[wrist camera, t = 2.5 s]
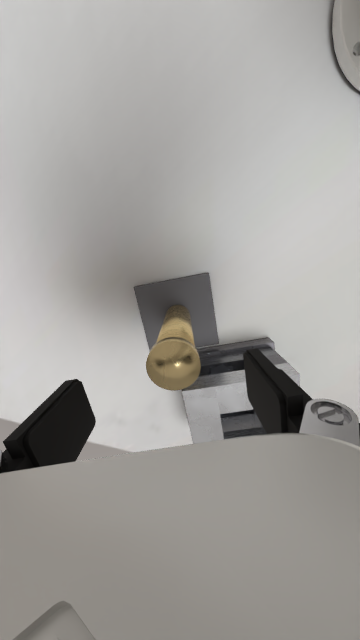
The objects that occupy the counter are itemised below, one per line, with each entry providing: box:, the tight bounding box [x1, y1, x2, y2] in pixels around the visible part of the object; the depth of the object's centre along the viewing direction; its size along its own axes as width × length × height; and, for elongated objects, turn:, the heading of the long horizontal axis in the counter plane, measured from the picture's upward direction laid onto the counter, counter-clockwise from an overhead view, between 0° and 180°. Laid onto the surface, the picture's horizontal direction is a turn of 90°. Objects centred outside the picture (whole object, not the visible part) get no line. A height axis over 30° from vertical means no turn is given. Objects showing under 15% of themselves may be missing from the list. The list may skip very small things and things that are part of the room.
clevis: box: [182, 338, 300, 444], centre depth 23 cm, size 12×12×8 cm
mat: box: [134, 273, 219, 350], centre depth 23 cm, size 9×9×1 cm
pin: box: [146, 305, 201, 390], centre depth 17 cm, size 3×3×12 cm
